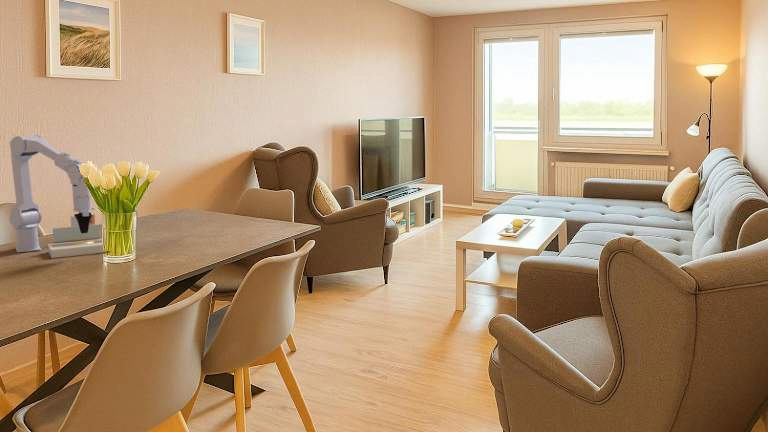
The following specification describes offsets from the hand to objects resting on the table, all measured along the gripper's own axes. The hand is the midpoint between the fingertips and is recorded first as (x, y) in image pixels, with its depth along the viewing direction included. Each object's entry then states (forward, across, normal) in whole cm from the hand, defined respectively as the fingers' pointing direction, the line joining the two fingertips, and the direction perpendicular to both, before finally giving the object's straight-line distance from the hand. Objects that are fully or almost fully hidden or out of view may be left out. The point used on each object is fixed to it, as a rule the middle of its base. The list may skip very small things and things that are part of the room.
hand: (84, 232), depth 234 cm
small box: (+9, +31, -4) cm, 33 cm away
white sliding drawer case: (+9, +9, +1) cm, 12 cm away
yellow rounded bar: (+7, +11, 0) cm, 13 cm away
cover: (+3, +13, +1) cm, 13 cm away
